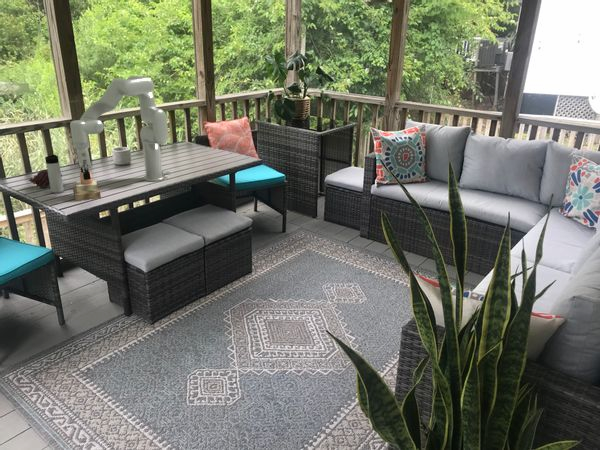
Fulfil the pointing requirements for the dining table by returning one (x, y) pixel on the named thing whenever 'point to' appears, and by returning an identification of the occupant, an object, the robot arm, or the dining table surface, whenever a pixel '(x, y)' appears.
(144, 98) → the robot arm
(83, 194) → the oak base block
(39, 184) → the pine cone
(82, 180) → the terracotta round block
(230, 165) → the dining table surface
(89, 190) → the maple top block
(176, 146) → the dining table surface
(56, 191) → the travel mug
